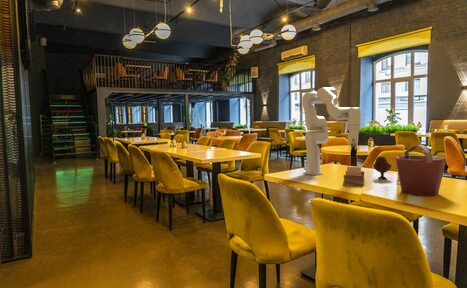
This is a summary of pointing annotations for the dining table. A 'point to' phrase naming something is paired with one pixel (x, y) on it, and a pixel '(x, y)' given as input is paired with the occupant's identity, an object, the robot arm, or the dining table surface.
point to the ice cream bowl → (382, 166)
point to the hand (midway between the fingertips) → (353, 155)
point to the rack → (354, 179)
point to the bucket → (420, 172)
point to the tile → (353, 170)
